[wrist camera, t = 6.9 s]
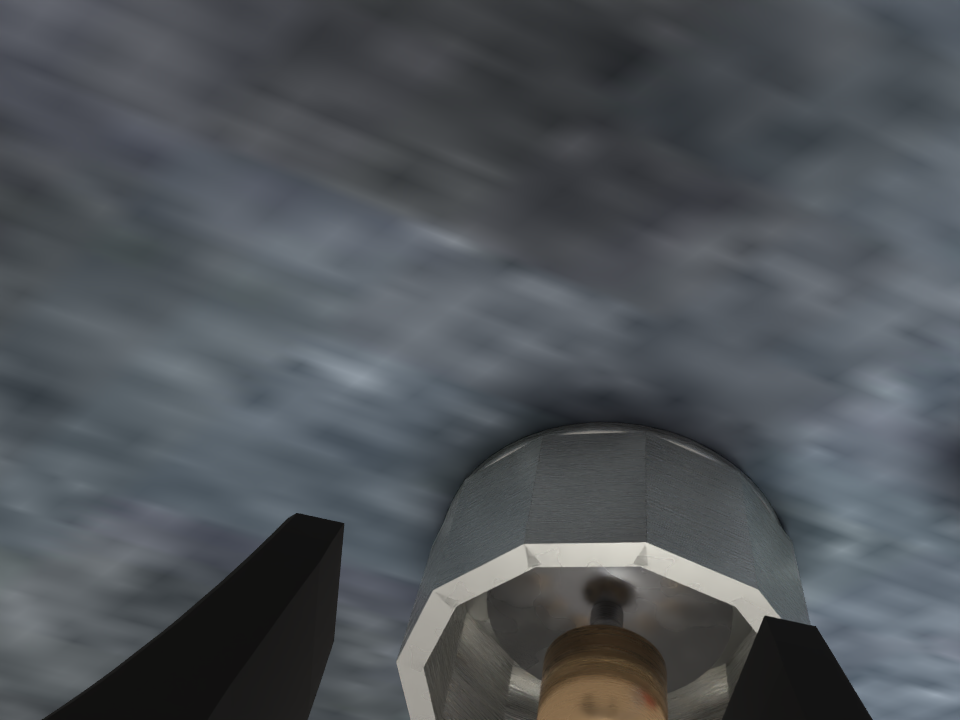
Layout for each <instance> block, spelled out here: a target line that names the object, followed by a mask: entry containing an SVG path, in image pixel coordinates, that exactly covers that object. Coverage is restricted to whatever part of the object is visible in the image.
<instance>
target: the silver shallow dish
mask: <svg viewBox="0 0 960 720" xmlns="http://www.w3.org/2000/svg"><path fill="white" fill-rule="evenodd" d="M634 566H640V567H642V568H645V569H647V570H650V571H652V572H654V573H657V574H659V575H661V576H664V577H666V578H669V579H671V580H673V581H676V582H678V583H680V584H683V585H685V586H688V587H690V588H692V589H695V590H697V591H699V592H702V593H704V594H707V595H709V596H711V597H714V598H716V599H719V600H721V601H723V602H726V603H728V604H730V605H732V609H733V624H732V630H731V634H730V638H729V641H728V643H727V645H726V647H725V649H724V651H723V653H722V654H721V656H720V657H719V659H718V660H717V661H716V662H715V663H714V664H713V666H712V667H711V668H710V669H709V670H708V671H706V672H705V673H704V674H703V675H702V676H700V677H699V678H698V679H696V680H695V681H693V682H691V683H690V684H688V685H686V686H684V687H682V688H680V689H678V690H675V691H673V692H670V693H667V694H668V720H722V718H723V715H724V713H725V711H726V708H727V706H728V703H729V701H730V698H731V696H732V693H733V691H734V689H735V686H736V684H737V681H738V679H739V676H740V674H741V672H742V669H743V667H744V664H745V662H746V659H747V657H748V654H749V652H750V650H751V647H752V645H753V642H754V640H755V637H756V635H757V633H758V630H759V628H760V625H761V623H762V620H763V618H764V615H766V616H771V617H775V618H780V619H784V620H789V621H793V622H798V623H803V624H807V625H810V620H809V616H808V611H807V607H806V602H805V597H804V593H803V588H802V584H801V579H800V575H799V570H798V566H797V561H796V557H795V552H794V548H793V543H792V541H791V539H790V538H789V537H788V535H787V534H786V533H785V531H784V530H783V529H782V527H781V525H780V522H779V520H778V518H777V516H776V513H775V511H774V510H773V508H772V507H771V505H770V504H769V502H768V500H767V499H766V497H765V496H764V494H763V493H762V492H761V491H760V490H759V489H758V487H757V486H756V485H755V484H754V483H753V482H752V481H751V479H750V478H749V477H747V476H746V475H745V474H744V473H743V472H742V471H741V470H739V469H738V468H737V467H736V466H735V465H734V464H732V463H731V462H729V461H728V460H726V459H725V458H723V457H722V456H720V455H719V454H717V453H716V452H714V451H713V450H711V449H709V448H707V447H705V446H703V445H701V444H699V443H697V442H695V441H693V440H691V439H688V438H685V437H682V436H680V435H677V434H674V433H671V432H668V431H664V430H660V429H656V428H652V427H648V426H643V425H635V424H627V423H617V422H591V423H581V424H570V425H566V426H561V427H556V428H551V429H547V430H544V431H541V432H538V433H535V434H532V435H529V436H526V437H524V438H522V439H520V440H518V441H516V442H514V443H512V444H510V445H508V446H506V447H504V448H503V449H501V450H500V451H498V452H497V453H495V454H494V455H492V456H491V457H489V458H488V459H487V460H485V461H484V462H483V463H482V464H481V465H480V466H479V467H478V468H476V469H475V470H474V471H473V472H472V473H471V475H470V476H469V477H468V478H466V479H465V480H464V482H463V484H462V485H461V487H460V489H459V490H458V492H457V494H456V495H455V497H454V499H453V500H452V502H451V505H450V507H449V510H448V512H447V515H446V517H445V521H444V523H443V525H442V527H441V529H440V531H439V533H438V535H437V537H436V539H435V541H434V543H433V545H432V548H431V551H430V555H429V558H428V561H427V564H426V568H425V571H424V574H423V577H422V580H421V584H420V587H419V590H418V593H417V597H416V600H415V603H414V606H413V610H412V613H411V616H410V619H409V623H408V626H407V629H406V632H405V636H404V639H403V642H402V645H401V648H400V652H399V655H398V658H397V661H396V663H397V667H398V671H399V675H400V679H401V683H402V687H403V691H404V695H405V698H406V702H407V706H408V710H409V714H410V718H411V720H537V712H538V704H539V696H540V688H541V680H539V679H537V678H536V677H534V676H532V675H531V674H530V673H528V672H527V671H526V670H524V669H523V668H522V667H520V666H519V665H518V664H517V663H516V662H515V661H514V660H513V659H512V658H511V657H510V656H509V655H508V653H507V652H506V651H505V650H504V649H503V647H502V646H501V644H500V643H499V641H498V639H497V638H496V636H495V634H494V631H493V629H492V627H491V624H490V620H489V617H488V611H487V591H488V590H490V589H492V588H494V587H496V586H498V585H500V584H502V583H504V582H506V581H509V580H511V579H513V578H515V577H517V576H519V575H521V574H523V573H525V572H527V571H529V570H531V569H533V568H535V567H634Z"/></svg>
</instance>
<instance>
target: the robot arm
mask: <svg viewBox="0 0 960 720" xmlns="http://www.w3.org/2000/svg"><path fill="white" fill-rule="evenodd" d="M343 533H344V523H341V522H336V521H331V520H327V519H322V518H318V517H313V516H309V515H304V514H299V513H296V514H294V515H293V516H291V517H289V518H288V519H287V520H286V521H285V522H284V523H283V524H282V525H281V526H280V527H279V528H278V529H277V530H276V531H275V532H274V533H273V534H272V535H271V536H270V537H268V538H267V539H266V540H265V541H264V542H263V543H262V544H261V545H260V546H259V547H258V548H257V549H256V550H255V551H254V552H253V553H252V554H251V555H250V556H249V557H248V558H247V559H246V560H244V561H243V562H242V563H241V564H240V565H239V566H238V567H237V568H236V569H235V570H234V571H232V572H231V573H230V574H229V575H228V576H227V577H226V578H225V579H224V580H223V581H222V582H220V583H219V584H218V585H217V586H216V587H215V588H214V589H212V590H211V591H210V592H209V593H208V594H207V595H205V596H204V597H203V598H202V599H201V600H200V601H198V602H197V603H196V604H195V605H194V606H193V607H191V608H190V609H189V610H188V611H187V612H186V613H184V614H183V615H182V616H181V617H180V618H179V619H177V620H176V621H175V622H174V623H173V624H171V625H170V626H169V627H168V628H166V629H165V630H164V631H163V632H161V633H160V634H159V635H158V636H156V637H155V638H154V639H152V640H151V641H150V642H149V643H147V644H146V645H145V646H143V647H142V648H141V649H140V650H138V651H137V652H136V653H134V654H133V655H132V656H130V657H129V658H128V659H127V660H125V661H124V662H123V663H121V664H120V665H119V666H118V667H116V668H115V669H114V670H112V671H111V672H110V673H108V674H107V675H106V676H104V677H103V678H102V679H100V680H99V681H97V682H96V683H95V684H93V685H92V686H90V687H89V688H88V689H86V690H85V691H83V692H82V693H81V694H79V695H78V696H76V697H75V698H73V699H72V700H70V701H69V702H68V703H66V704H65V705H63V706H62V707H60V708H59V709H57V710H56V711H54V712H53V713H51V714H50V715H48V716H47V717H45V718H44V719H42V720H307V719H308V717H309V714H310V711H311V708H312V705H313V702H314V699H315V696H316V693H317V691H318V688H319V685H320V682H321V679H322V676H323V673H324V670H325V666H326V663H327V660H328V657H329V654H330V651H331V648H332V645H333V642H334V634H335V622H336V611H337V600H338V589H339V578H340V566H341V555H342V544H343ZM722 720H872V718H871V716H870V715H869V713H868V711H867V710H866V708H865V706H864V705H863V703H862V702H861V700H860V698H859V697H858V695H857V693H856V692H855V690H854V688H853V687H852V685H851V683H850V682H849V680H848V678H847V677H846V675H845V673H844V672H843V670H842V668H841V667H840V665H839V663H838V662H837V660H836V658H835V657H834V655H833V653H832V652H831V650H830V649H829V647H828V645H827V644H826V642H825V640H824V639H823V637H822V636H821V634H820V632H819V631H818V629H817V628H816V626H812V625H807V624H803V623H798V622H793V621H789V620H784V619H780V618H775V617H771V616H766V615H764V618H763V620H762V623H761V625H760V628H759V630H758V633H757V635H756V637H755V640H754V642H753V645H752V647H751V650H750V652H749V654H748V657H747V659H746V662H745V664H744V667H743V669H742V672H741V674H740V676H739V679H738V681H737V684H736V686H735V689H734V691H733V693H732V696H731V698H730V701H729V703H728V706H727V708H726V711H725V713H724V715H723V718H722Z"/></svg>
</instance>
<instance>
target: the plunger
mask: <svg viewBox="0 0 960 720" xmlns="http://www.w3.org/2000/svg"><path fill="white" fill-rule="evenodd" d="M487 611H488V617H489V620H490V624H491V627H492V629H493V631H494V634H495V636H496V638H497V639H498V641H499V643H500V644H501V646H502V647H503V649H504V650H505V651H506V652H507V653H508V655H509V656H510V657H511V658H512V659H513V660H514V661H515V662H516V663H517V664H518V665H519V666H520V667H522V668H523V669H524V670H526V671H527V672H528V673H530V674H531V675H532V676H534V677H536V678H537V679H539V680H541V688H540V696H539V704H538V712H537V720H668V694H667V693H670V692H673V691H675V690H678V689H680V688H682V687H684V686H686V685H688V684H690V683H691V682H693V681H695V680H696V679H698V678H699V677H700V676H702V675H703V674H704V673H705V672H706V671H708V670H709V669H710V668H711V667H712V666H713V664H714V663H715V662H716V661H717V660H718V659H719V657H720V656H721V654H722V653H723V651H724V649H725V647H726V645H727V643H728V641H729V638H730V634H731V630H732V624H733V609H732V605H730V604H728V603H726V602H723V601H721V600H719V599H716V598H714V597H711V596H709V595H707V594H704V593H702V592H699V591H697V590H695V589H692V588H690V587H688V586H685V585H683V584H680V583H678V582H676V581H673V580H671V579H669V578H666V577H664V576H661V575H659V574H657V573H654V572H652V571H650V570H647V569H645V568H642V567H640V566H634V567H535V568H533V569H531V570H529V571H527V572H525V573H523V574H521V575H519V576H517V577H515V578H513V579H511V580H509V581H506V582H504V583H502V584H500V585H498V586H496V587H494V588H492V589H490V590H488V591H487Z"/></svg>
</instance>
